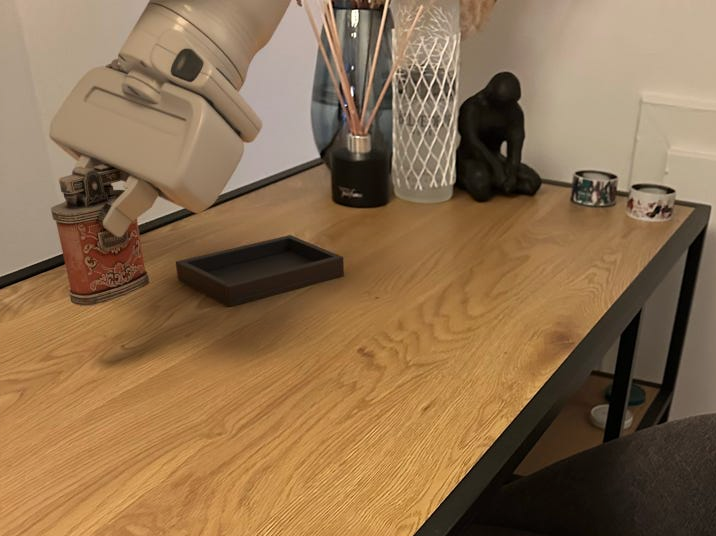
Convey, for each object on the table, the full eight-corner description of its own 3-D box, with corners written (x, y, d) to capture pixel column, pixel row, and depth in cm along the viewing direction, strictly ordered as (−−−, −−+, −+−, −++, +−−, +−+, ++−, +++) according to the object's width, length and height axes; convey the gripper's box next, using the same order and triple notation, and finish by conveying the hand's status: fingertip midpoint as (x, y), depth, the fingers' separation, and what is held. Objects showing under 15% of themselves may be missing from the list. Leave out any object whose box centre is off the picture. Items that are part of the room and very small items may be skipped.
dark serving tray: (177, 280, 103) (175, 261, 101) (291, 252, 112) (290, 234, 110) (230, 307, 98) (228, 286, 96) (344, 275, 107) (343, 257, 106)
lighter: (90, 309, 79) (64, 181, 72) (61, 300, 80) (33, 173, 74) (158, 283, 84) (139, 162, 78) (130, 274, 86) (109, 155, 79)
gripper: (81, 28, 80) (-2, 168, 80) (223, 71, 70) (128, 231, 70) (136, 83, 85) (58, 214, 86) (276, 131, 75) (187, 279, 76)
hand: (91, 222), depth 78 cm, fingers closed on lighter, 4 cm apart
